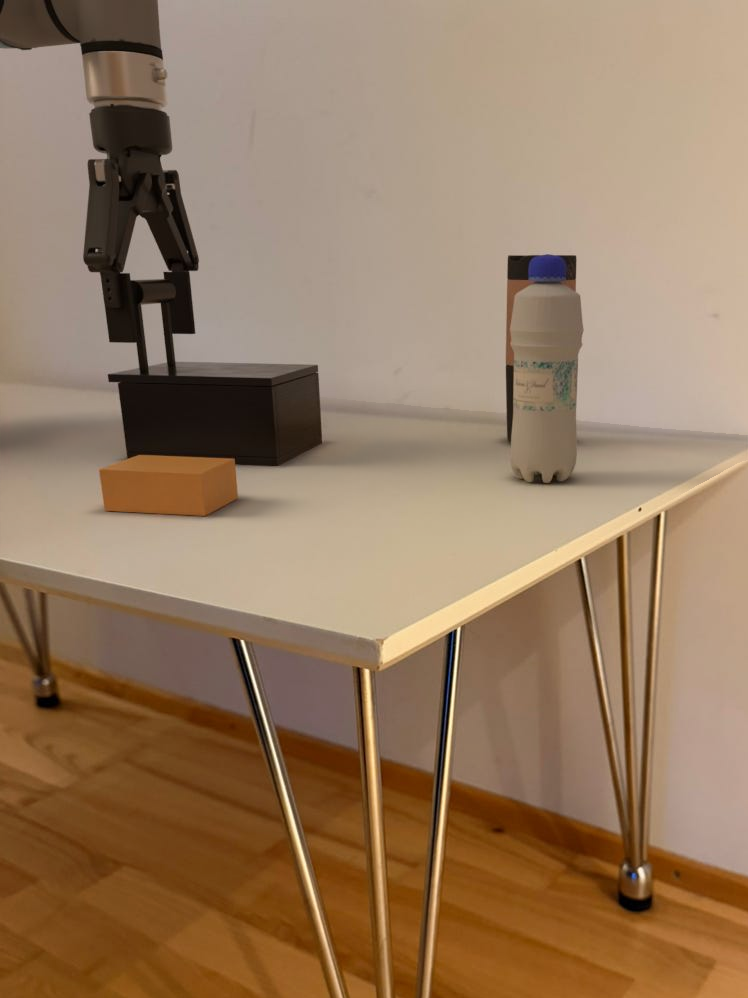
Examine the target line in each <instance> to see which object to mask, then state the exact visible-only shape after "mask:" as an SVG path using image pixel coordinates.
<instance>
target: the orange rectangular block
mask: <svg viewBox="0 0 748 998" xmlns="http://www.w3.org/2000/svg"><path fill="white" fill-rule="evenodd" d="M98 472H99V479H100V487H101V494H102V495H101V496H102V501H103V508H104V511H105V512H119V513H120V512H121V513H142V514H161V515H180V516H196V517H197V516H200V517H206V516H208V515H210V514H211V513H213V512H215V511H217V510H219V509H221V508H223V507H225V506H227V505H228V504H230V503H233V502H234V501H236V500H238V499H239V493H238V492H239V491H238V482H237V468H236V464H235V459H230V458H205V457H180V456H155V455H137V456H135V457H132V458H129V459H127V458H126V459H123V460H120V461H118V462H115V463H113V464H110V465H107V466H104V467H102V468H101V467H100V468H98Z"/></svg>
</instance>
